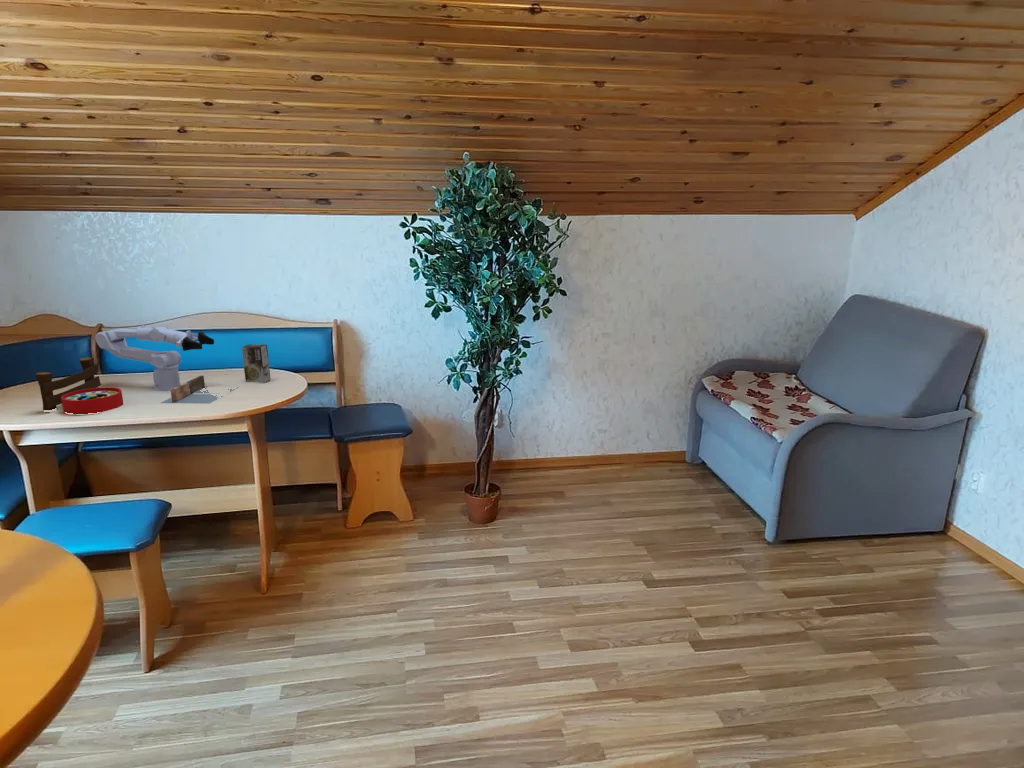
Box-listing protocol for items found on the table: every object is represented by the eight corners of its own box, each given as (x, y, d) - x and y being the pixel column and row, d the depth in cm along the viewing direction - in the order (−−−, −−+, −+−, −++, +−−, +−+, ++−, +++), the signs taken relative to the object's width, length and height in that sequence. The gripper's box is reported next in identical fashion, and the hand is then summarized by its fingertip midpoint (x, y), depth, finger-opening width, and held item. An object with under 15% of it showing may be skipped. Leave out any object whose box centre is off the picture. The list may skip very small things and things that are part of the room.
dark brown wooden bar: (187, 394, 280) (186, 382, 278) (201, 387, 291) (200, 375, 290) (191, 394, 280) (190, 382, 278) (205, 387, 291) (204, 375, 289)
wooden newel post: (187, 393, 279) (185, 382, 278) (191, 393, 279) (189, 382, 278) (171, 401, 267) (169, 389, 266) (175, 401, 267) (173, 389, 266)
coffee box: (271, 379, 305) (267, 344, 301) (264, 383, 299) (261, 347, 295) (251, 379, 306) (248, 344, 302) (244, 382, 300) (241, 346, 296)
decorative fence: (51, 413, 256) (44, 374, 252) (36, 413, 256) (29, 375, 252) (104, 390, 288) (98, 356, 285) (90, 390, 288) (84, 356, 285)
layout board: (160, 403, 267) (160, 402, 267) (194, 387, 292) (194, 386, 292) (209, 404, 266) (209, 403, 266) (239, 387, 291) (239, 386, 291)
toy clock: (132, 387, 270) (100, 401, 251) (134, 401, 272) (102, 416, 253) (84, 387, 272) (48, 400, 252) (86, 401, 273) (50, 415, 254)
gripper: (166, 333, 276) (195, 339, 274) (190, 324, 290) (218, 330, 287) (166, 349, 279) (196, 355, 276) (190, 340, 292) (218, 346, 290)
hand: (207, 344), depth 282 cm, fingers open, 7 cm apart
